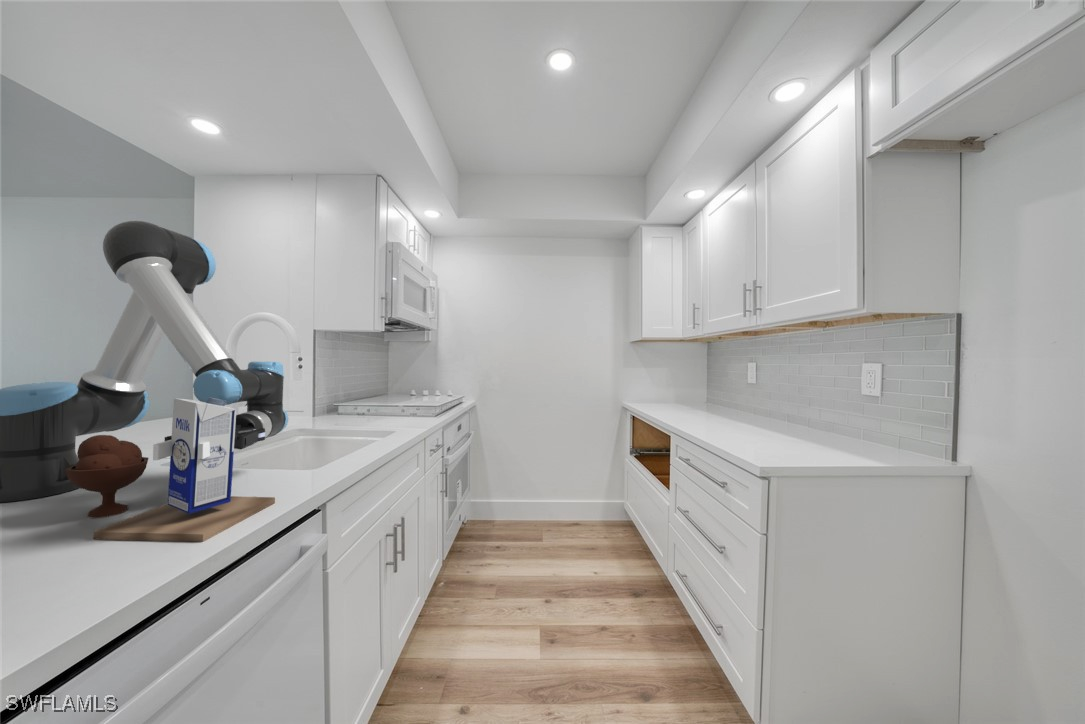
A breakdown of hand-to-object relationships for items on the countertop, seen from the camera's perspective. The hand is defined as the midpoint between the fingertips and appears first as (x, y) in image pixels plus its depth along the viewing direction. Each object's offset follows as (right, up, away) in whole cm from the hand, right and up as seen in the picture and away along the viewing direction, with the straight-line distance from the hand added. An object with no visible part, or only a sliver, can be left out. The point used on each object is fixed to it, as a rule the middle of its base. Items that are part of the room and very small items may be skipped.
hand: (178, 451), depth 70 cm
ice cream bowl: (-20, -13, +7) cm, 25 cm away
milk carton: (-1, -11, +5) cm, 12 cm away
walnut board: (-1, -14, +5) cm, 15 cm away
